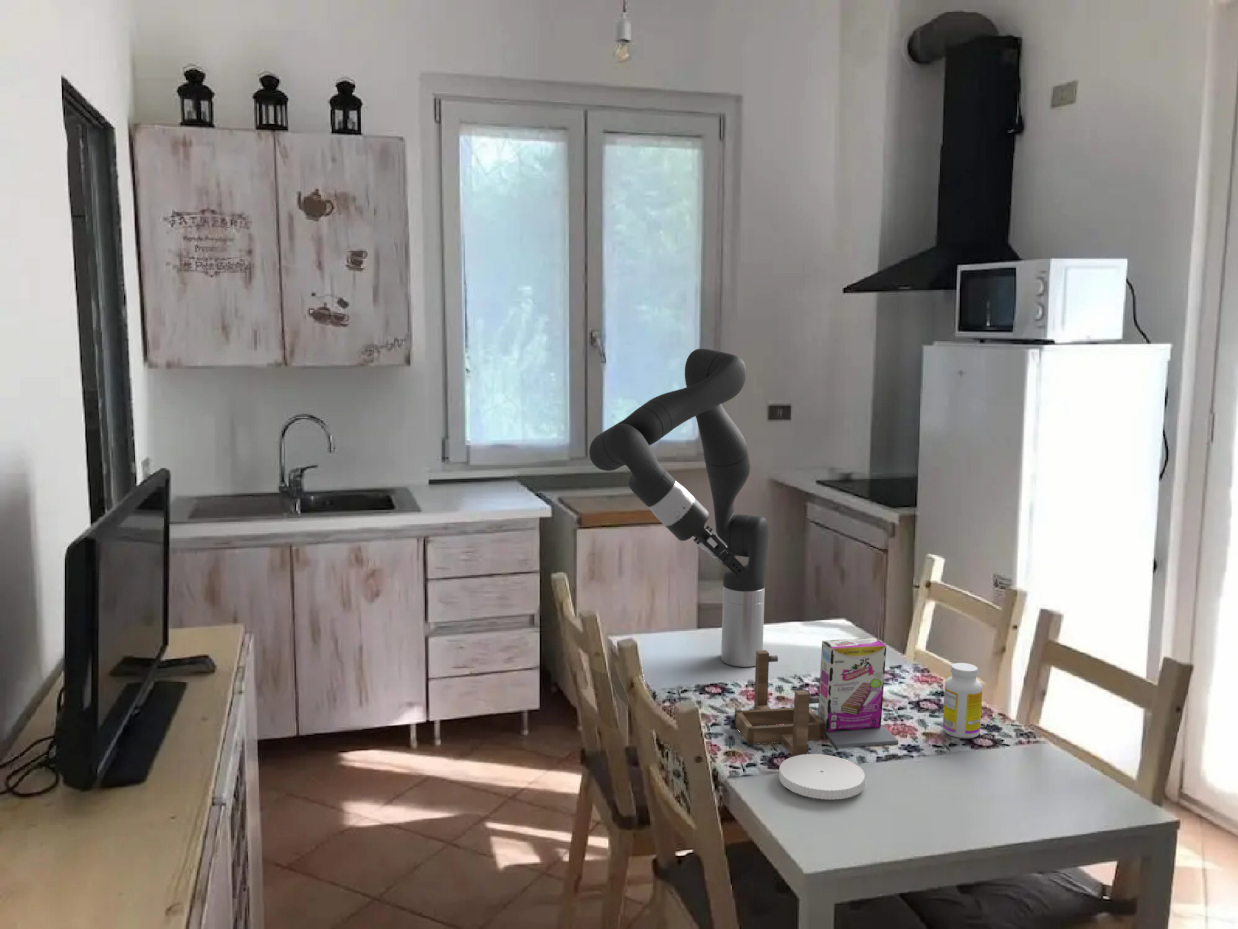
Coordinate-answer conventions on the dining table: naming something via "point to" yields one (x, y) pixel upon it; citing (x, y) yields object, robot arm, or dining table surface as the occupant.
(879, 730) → the slate mat
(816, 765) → the plastic lid
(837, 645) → the candy bar box
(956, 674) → the supplement bottle
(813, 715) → the walnut holder
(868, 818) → the dining table surface
